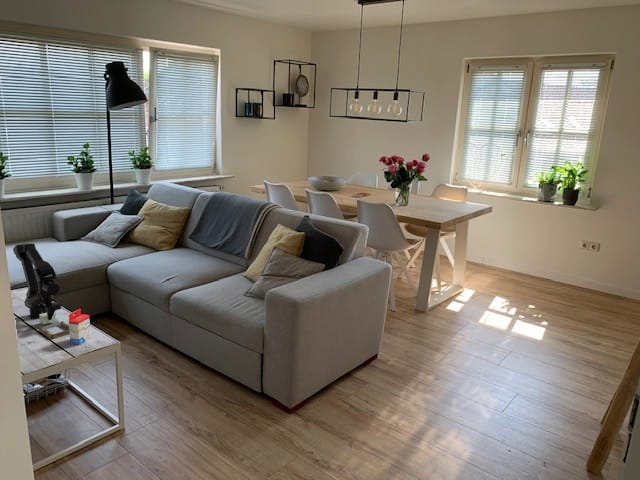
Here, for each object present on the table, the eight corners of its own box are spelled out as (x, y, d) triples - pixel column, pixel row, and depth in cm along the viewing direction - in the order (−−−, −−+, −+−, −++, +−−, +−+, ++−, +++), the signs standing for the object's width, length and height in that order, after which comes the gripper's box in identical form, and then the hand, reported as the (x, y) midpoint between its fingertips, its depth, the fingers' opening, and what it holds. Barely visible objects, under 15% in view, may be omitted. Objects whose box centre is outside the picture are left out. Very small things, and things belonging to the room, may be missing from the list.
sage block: (40, 321, 246) (39, 314, 245) (52, 318, 251) (51, 311, 250) (43, 324, 244) (42, 316, 243) (56, 320, 248) (55, 313, 247)
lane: (39, 331, 240) (39, 327, 240) (62, 324, 249) (62, 321, 248) (51, 339, 233) (51, 335, 232) (75, 332, 241) (75, 328, 240)
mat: (34, 325, 246) (34, 324, 246) (55, 319, 254) (55, 319, 254) (41, 330, 241) (41, 329, 241) (62, 324, 249) (62, 323, 249)
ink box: (79, 345, 228) (77, 316, 225) (69, 343, 229) (67, 314, 226) (91, 337, 236) (89, 309, 233) (82, 336, 237) (80, 307, 234)
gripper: (19, 288, 242) (22, 318, 246) (36, 298, 231) (39, 329, 235) (43, 283, 251) (45, 312, 255) (60, 292, 240) (62, 322, 244)
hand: (47, 318), depth 247 cm, fingers closed on sage block, 4 cm apart
